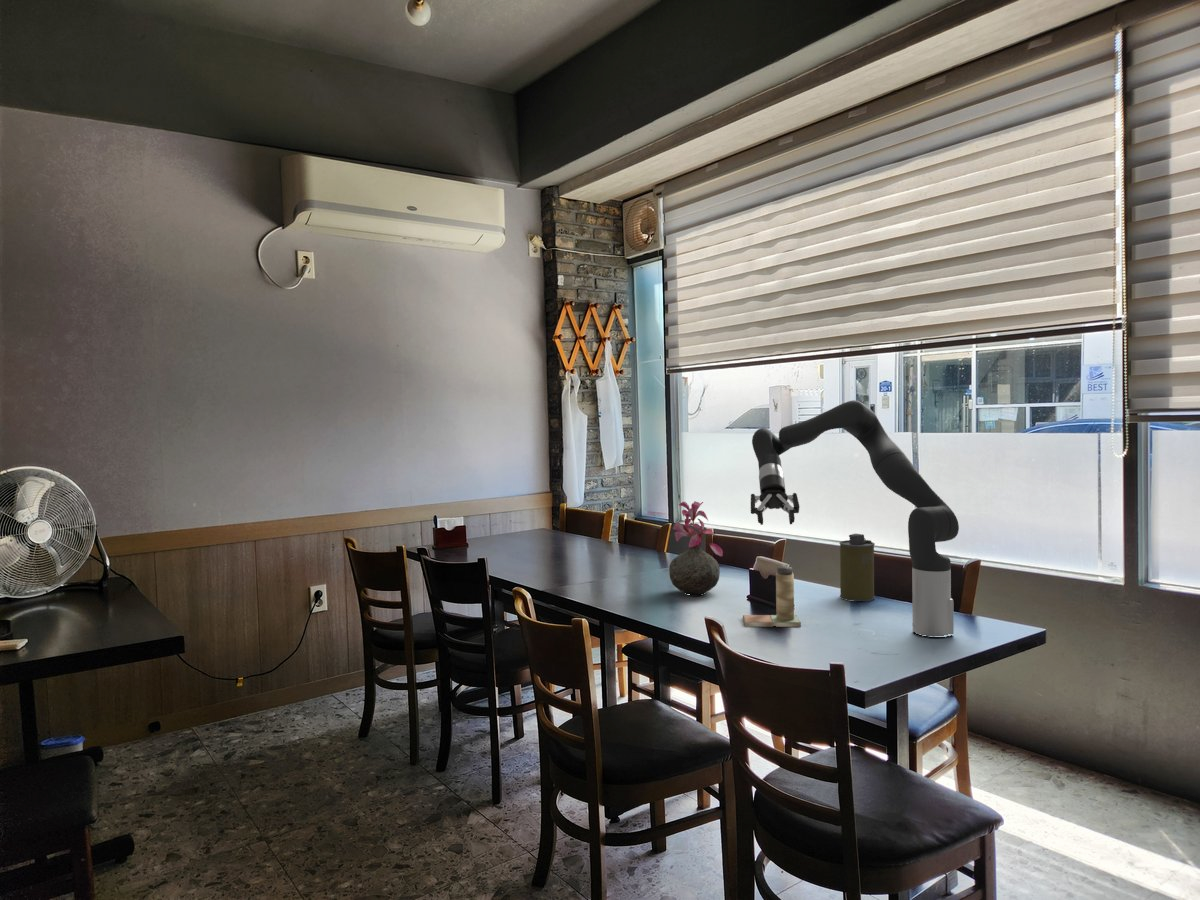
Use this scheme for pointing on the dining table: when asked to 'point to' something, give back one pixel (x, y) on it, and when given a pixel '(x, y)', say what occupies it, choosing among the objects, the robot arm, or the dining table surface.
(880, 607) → the dining table surface
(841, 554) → the canister
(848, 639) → the dining table surface
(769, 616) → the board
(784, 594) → the pepper mill
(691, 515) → the vase
